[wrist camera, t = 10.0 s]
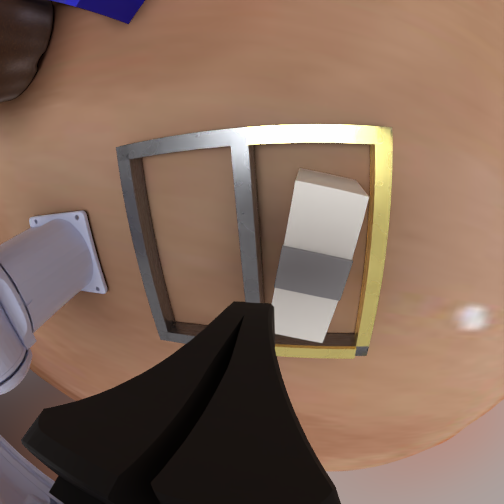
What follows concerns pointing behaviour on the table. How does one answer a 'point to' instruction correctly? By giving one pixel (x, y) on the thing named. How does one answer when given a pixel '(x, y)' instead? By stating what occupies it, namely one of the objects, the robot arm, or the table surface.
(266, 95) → the table surface
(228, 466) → the robot arm
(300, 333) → the white banded pillar
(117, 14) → the cable clip
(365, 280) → the rack
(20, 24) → the plant pot
